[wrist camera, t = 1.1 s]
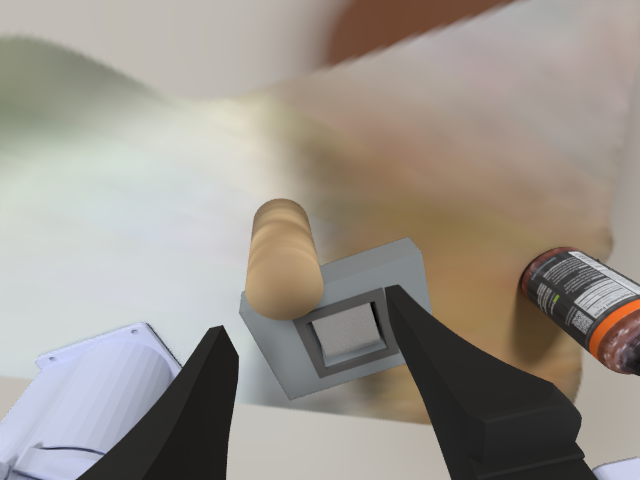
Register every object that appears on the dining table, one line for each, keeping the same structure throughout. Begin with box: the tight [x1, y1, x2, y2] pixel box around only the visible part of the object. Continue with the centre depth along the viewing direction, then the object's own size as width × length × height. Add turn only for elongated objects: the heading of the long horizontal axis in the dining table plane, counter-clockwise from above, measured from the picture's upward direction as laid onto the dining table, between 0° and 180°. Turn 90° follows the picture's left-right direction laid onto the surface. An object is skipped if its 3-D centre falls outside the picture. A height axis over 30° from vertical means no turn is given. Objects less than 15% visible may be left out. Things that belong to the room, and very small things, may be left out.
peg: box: [245, 199, 324, 321], centre depth 20 cm, size 4×4×8 cm
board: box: [239, 237, 432, 400], centre depth 27 cm, size 14×11×3 cm
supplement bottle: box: [522, 247, 640, 376], centre depth 24 cm, size 6×6×11 cm
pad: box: [312, 303, 381, 359], centre depth 27 cm, size 5×5×1 cm
